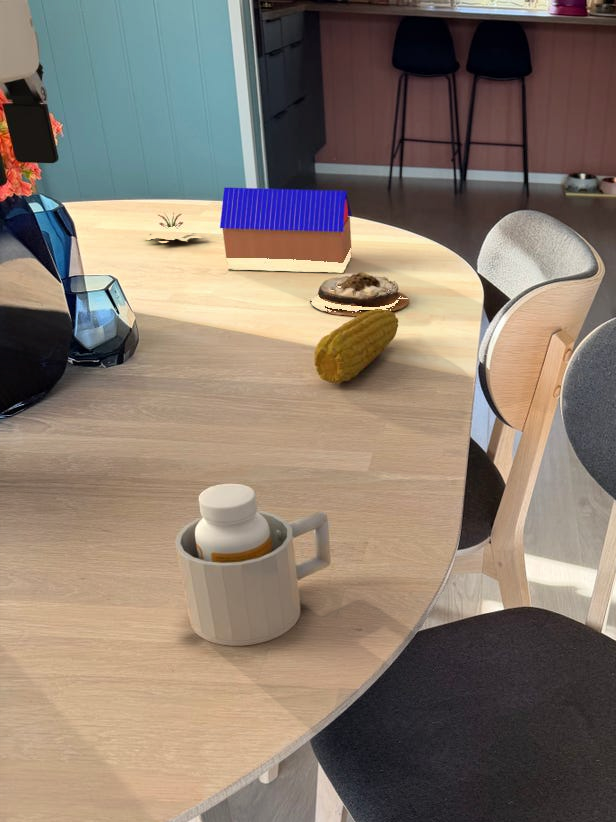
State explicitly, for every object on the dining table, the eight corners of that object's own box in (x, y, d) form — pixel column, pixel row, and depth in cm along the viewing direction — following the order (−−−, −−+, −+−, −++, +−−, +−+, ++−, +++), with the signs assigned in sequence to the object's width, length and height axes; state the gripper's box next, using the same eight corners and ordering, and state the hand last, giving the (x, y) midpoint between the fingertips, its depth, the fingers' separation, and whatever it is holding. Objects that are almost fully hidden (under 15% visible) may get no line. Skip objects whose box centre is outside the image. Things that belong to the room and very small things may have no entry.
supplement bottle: (293, 603, 73) (281, 491, 67) (243, 635, 69) (225, 519, 64) (244, 581, 75) (228, 472, 70) (193, 611, 72) (172, 498, 66)
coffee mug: (229, 660, 68) (216, 578, 64) (169, 613, 72) (153, 534, 68) (363, 596, 75) (358, 519, 71) (300, 557, 80) (293, 483, 76)
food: (353, 393, 111) (350, 343, 108) (309, 388, 112) (304, 338, 109) (406, 339, 128) (405, 295, 124) (367, 335, 129) (365, 291, 125)
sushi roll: (299, 313, 136) (297, 284, 134) (322, 286, 148) (320, 259, 146) (399, 318, 135) (398, 288, 133) (414, 290, 148) (413, 263, 145)
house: (241, 253, 164) (232, 180, 158) (354, 256, 165) (350, 184, 158) (225, 270, 155) (215, 194, 148) (345, 274, 155) (341, 198, 148)
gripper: (-57, -117, 66) (9, 153, 76) (-202, -142, 52) (-98, 194, 62) (50, -114, 66) (101, 156, 76) (-65, -138, 52) (16, 197, 62)
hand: (12, 172), depth 69 cm, fingers open, 9 cm apart
